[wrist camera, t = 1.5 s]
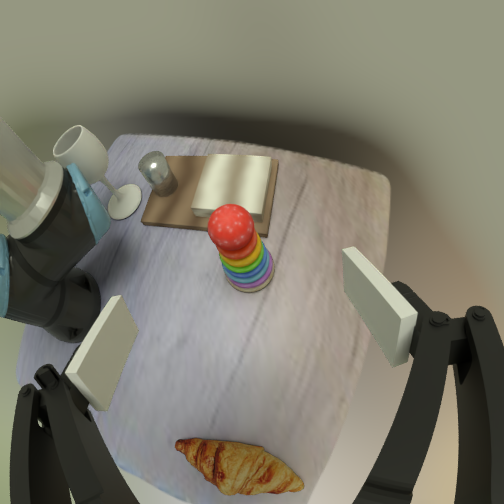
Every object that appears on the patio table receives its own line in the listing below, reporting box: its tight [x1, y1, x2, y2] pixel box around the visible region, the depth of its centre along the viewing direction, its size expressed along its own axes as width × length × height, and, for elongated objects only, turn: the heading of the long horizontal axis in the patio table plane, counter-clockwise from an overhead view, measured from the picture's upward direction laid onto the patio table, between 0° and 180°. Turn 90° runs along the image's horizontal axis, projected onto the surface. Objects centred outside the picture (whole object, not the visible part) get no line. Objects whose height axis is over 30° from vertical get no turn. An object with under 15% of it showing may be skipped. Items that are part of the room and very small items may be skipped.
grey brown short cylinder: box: [138, 151, 178, 197], centre depth 47 cm, size 5×5×8 cm
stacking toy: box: [208, 204, 274, 292], centre depth 36 cm, size 8×8×19 cm
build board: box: [141, 154, 278, 238], centre depth 49 cm, size 24×16×4 cm, turn 80°
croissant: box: [175, 438, 304, 496], centre depth 31 cm, size 21×10×8 cm, turn 70°
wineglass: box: [53, 125, 141, 220], centre depth 43 cm, size 9×9×21 cm
